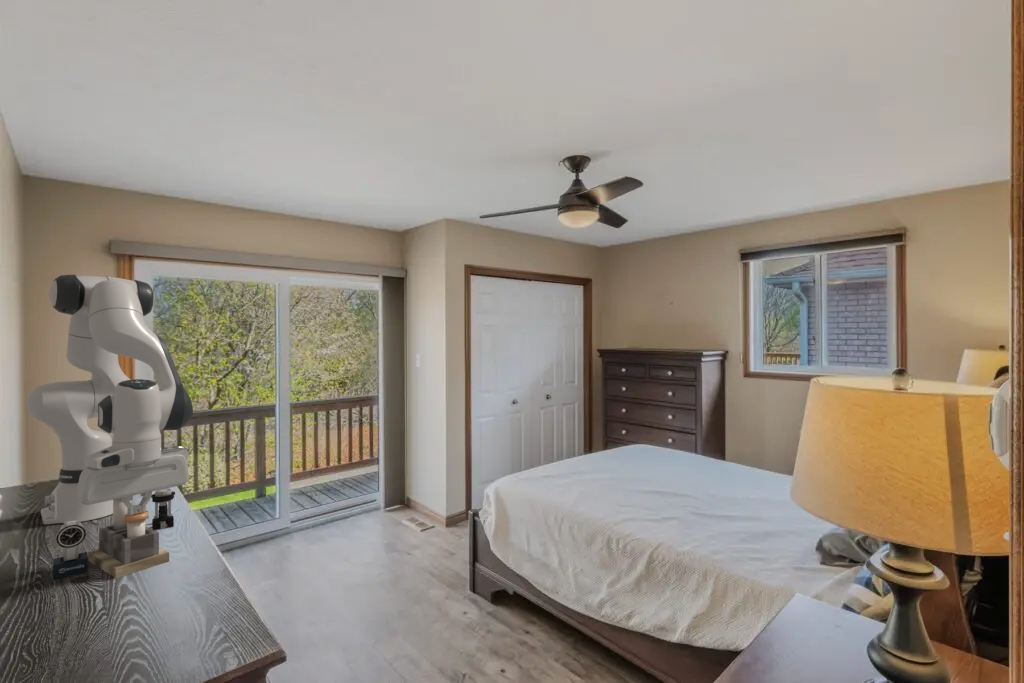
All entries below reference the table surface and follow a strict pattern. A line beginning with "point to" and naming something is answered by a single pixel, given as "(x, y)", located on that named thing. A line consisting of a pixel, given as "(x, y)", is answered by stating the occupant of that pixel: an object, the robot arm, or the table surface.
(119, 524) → the knob
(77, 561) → the watch
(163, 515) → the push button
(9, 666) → the table surface
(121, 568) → the mount
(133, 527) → the knob
